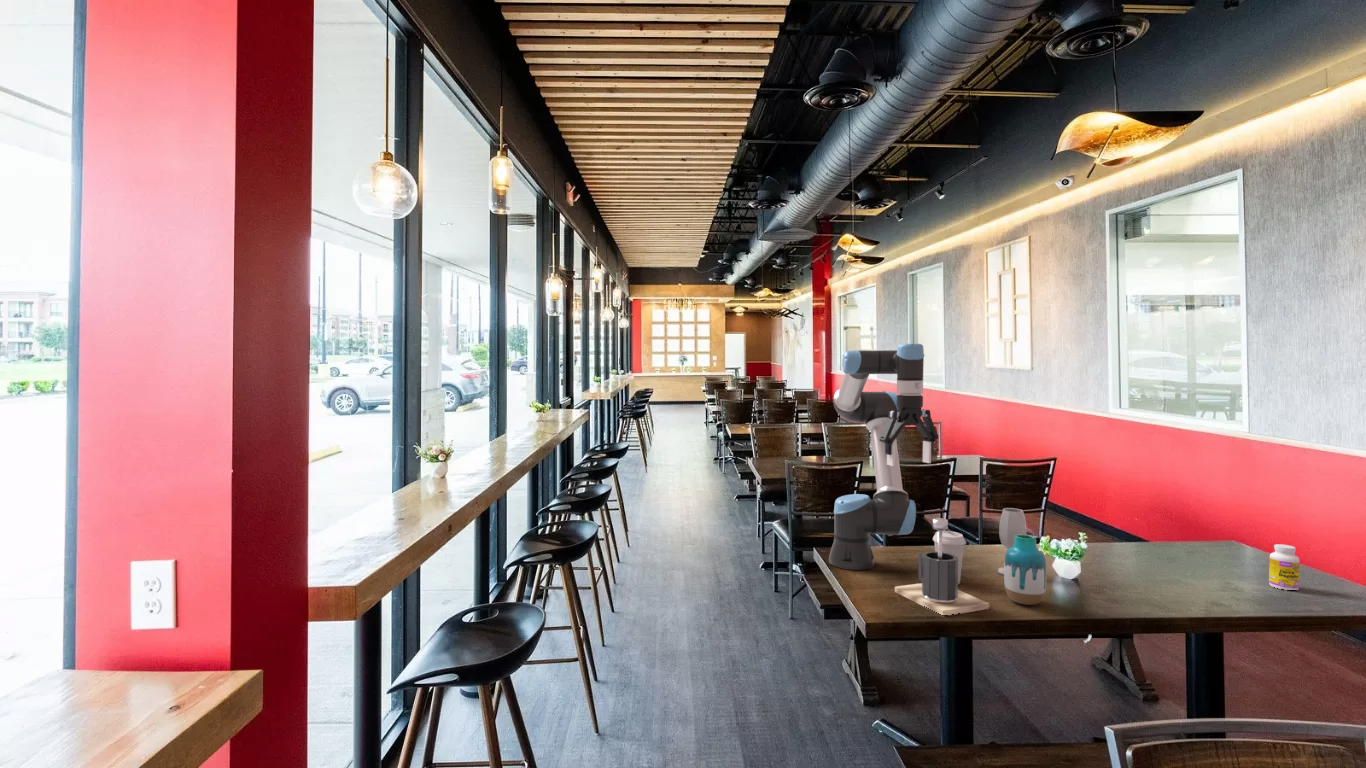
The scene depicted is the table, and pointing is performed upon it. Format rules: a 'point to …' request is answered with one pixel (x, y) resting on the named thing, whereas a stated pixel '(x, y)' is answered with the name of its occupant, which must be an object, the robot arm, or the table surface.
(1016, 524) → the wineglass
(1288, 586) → the supplement bottle
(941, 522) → the plunger
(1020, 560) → the vase
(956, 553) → the coffee cup
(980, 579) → the table surface
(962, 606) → the serving board
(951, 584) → the fluted grey tumbler
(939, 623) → the table surface
